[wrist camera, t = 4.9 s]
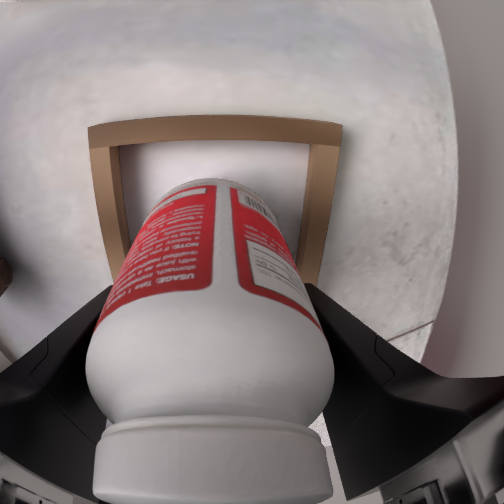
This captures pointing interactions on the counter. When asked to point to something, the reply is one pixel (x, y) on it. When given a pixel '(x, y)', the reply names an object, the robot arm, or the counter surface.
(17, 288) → the counter surface
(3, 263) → the bolt
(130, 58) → the counter surface
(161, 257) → the pill bottle
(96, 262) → the counter surface
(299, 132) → the wooden frame
